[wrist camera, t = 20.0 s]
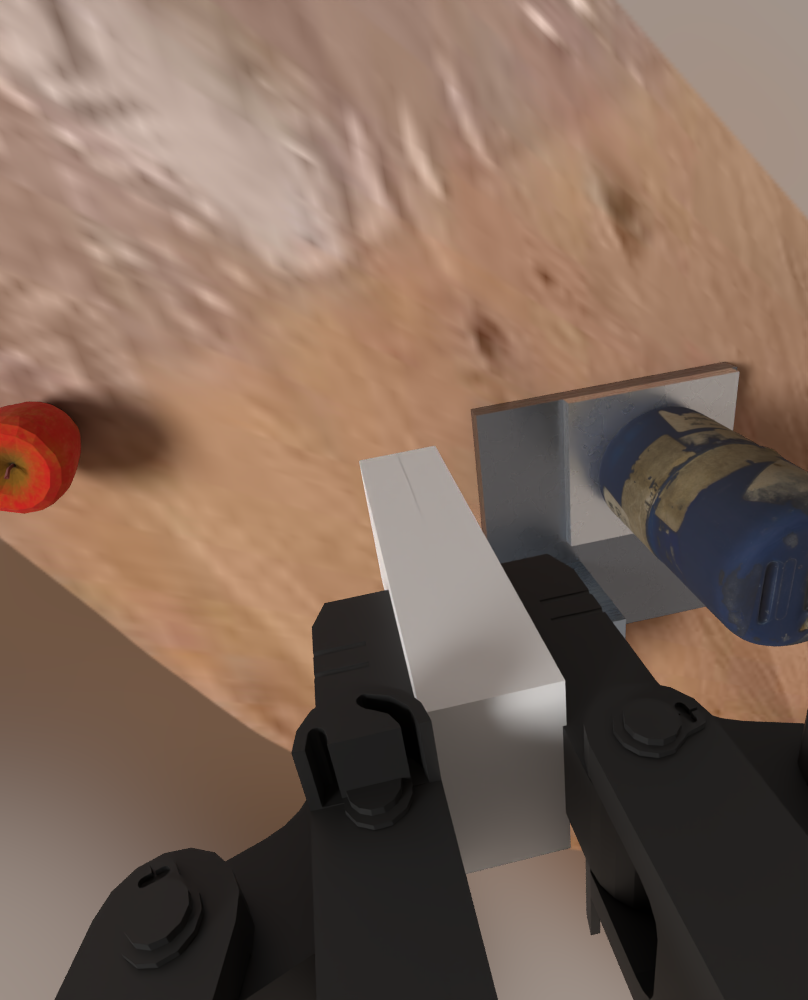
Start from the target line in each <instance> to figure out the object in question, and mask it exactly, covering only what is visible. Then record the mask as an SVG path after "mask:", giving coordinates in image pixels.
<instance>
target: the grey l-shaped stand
mask: <svg viewBox="0 0 808 1000" xmlns="http://www.w3.org/2000/svg"><path fill="white" fill-rule="evenodd" d="M739 372H740V371H737V366H734V365H731V364H729V363H726V362H722V363H717V364H711V365H706V366H701V367H695V368H690V369H684V370H679V371H674V372H668V373H663V374H658V375H652V376H647V377H642V378H636V379H631V380H626V381H620V382H615V383H609V384H604V385H599V386H593V387H588V388H583V389H577V390H572V391H567V392H561V393H556V394H551V395H545V396H540V397H534V398H529V399H524V400H518V401H513V402H508V403H502V404H497V405H492V406H486V407H481V408H476V409H471V415H472V426H473V437H474V447H475V458H476V469H477V480H478V491H479V502H480V512H481V523H482V531H483V533H484V535H485V537H486V539H487V540H488V542H489V544H490V546H491V548H492V549H493V551H494V553H495V555H496V557H497V558H498V560H499V562H500V564H501V563H505V562H510V561H515V560H520V559H524V558H529V557H534V556H538V555H543V554H549V555H551V556H552V557H554V558H556V559H557V560H559V561H561V562H563V563H564V564H566V565H568V566H570V567H571V568H573V569H574V570H575V572H576V573H577V574H578V576H579V577H580V579H581V580H582V581H583V583H584V584H585V585H586V587H587V588H588V589H589V593H590V594H592V595H593V596H594V597H595V599H596V600H597V602H598V603H599V604H600V606H601V607H602V611H603V612H606V614H607V615H608V616H609V618H610V619H611V621H612V622H613V623H614V625H615V626H616V627H617V629H618V630H619V631H620V633H621V634H622V635H623V637H624V638H625V632H626V624H628V623H632V622H637V621H641V620H646V619H650V618H655V617H660V616H664V615H669V614H673V613H678V612H682V611H687V610H691V609H696V608H701V607H705V605H704V604H703V603H702V602H701V601H700V600H699V599H698V598H697V597H696V596H695V595H694V594H693V593H692V592H691V591H690V590H689V589H688V588H687V587H686V586H685V585H684V584H683V582H682V581H681V580H680V579H679V578H678V577H677V576H676V575H675V574H674V573H672V572H671V570H670V569H669V568H668V567H667V566H666V565H665V564H664V563H663V562H661V561H660V560H659V559H658V558H657V557H656V556H655V555H654V554H653V553H652V552H651V551H650V550H649V549H648V548H647V547H646V546H645V545H644V544H643V543H642V542H641V541H640V539H639V538H637V537H636V536H635V535H634V533H633V532H632V531H631V530H630V529H629V528H628V527H627V526H626V525H625V524H624V523H623V522H622V521H621V520H620V519H619V518H618V517H617V516H616V515H615V514H614V513H613V512H612V511H611V509H610V508H609V507H608V505H607V504H606V502H605V501H604V499H603V496H602V494H601V490H600V485H599V468H600V463H601V460H602V458H603V455H604V452H605V450H606V448H607V446H608V444H609V443H610V441H611V440H612V439H613V437H614V436H615V435H616V434H617V432H618V431H619V430H620V429H621V428H622V427H623V426H625V425H626V424H627V423H628V422H629V421H631V420H632V419H634V418H635V417H637V416H639V415H641V414H643V413H645V412H647V411H650V410H653V409H656V408H661V407H668V406H678V407H685V408H689V409H692V410H695V411H698V412H700V413H701V414H703V415H705V416H707V417H709V418H711V419H713V420H715V421H717V422H718V423H720V424H722V425H723V426H725V427H727V428H729V429H731V430H733V426H734V417H735V408H736V399H737V390H738V381H739Z"/></svg>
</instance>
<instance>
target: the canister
mask: <svg viewBox="0 0 808 1000" xmlns="http://www.w3.org/2000/svg"><path fill="white" fill-rule="evenodd" d="M599 485H600V490H601V494H602V496H603V499H604V501H605V502H606V504H607V505H608V507H609V508H610V509H611V511H612V512H613V513H614V514H615V515H616V516H617V517H618V518H619V519H620V520H621V521H622V522H623V523H624V524H625V525H626V526H627V527H628V528H629V529H630V530H631V531H632V532H633V533H634V535H635V536H636V537H637V538H639V539H640V541H641V542H642V543H643V544H644V545H645V546H646V547H647V548H648V549H649V550H650V551H651V552H652V553H653V554H654V555H655V556H656V557H657V558H658V559H659V560H660V561H661V562H663V563H664V564H665V565H666V566H667V567H668V568H669V569H670V570H671V572H672V573H674V574H675V575H676V576H677V577H678V578H679V579H680V580H681V581H682V582H683V584H684V585H685V586H686V587H687V588H688V589H689V590H690V591H691V592H692V593H693V594H694V595H695V596H696V597H697V598H698V599H699V600H700V601H701V602H702V603H703V604H704V605H705V606H706V607H707V608H708V609H709V610H710V611H711V612H712V613H713V614H714V615H715V616H716V617H717V618H718V619H719V620H720V621H721V622H722V623H723V624H724V625H725V626H726V627H727V628H728V629H729V630H730V631H731V632H733V633H734V634H735V635H737V636H739V637H740V638H742V639H744V640H746V641H748V642H751V643H754V644H758V645H765V646H787V645H794V644H798V643H803V642H806V641H808V472H807V471H805V470H803V469H802V468H800V467H798V466H796V465H795V464H793V463H791V462H789V461H787V460H786V459H784V458H783V457H782V456H781V455H779V454H778V453H777V452H776V451H774V450H773V449H770V448H767V447H763V446H759V445H757V444H756V443H754V442H752V441H751V440H749V439H747V438H745V437H744V436H742V435H740V434H738V433H736V432H734V431H733V430H731V429H729V428H727V427H725V426H723V425H722V424H720V423H718V422H717V421H715V420H713V419H711V418H709V417H707V416H705V415H703V414H701V413H700V412H698V411H695V410H692V409H689V408H685V407H678V406H668V407H661V408H656V409H653V410H650V411H647V412H645V413H643V414H641V415H639V416H637V417H635V418H634V419H632V420H631V421H629V422H628V423H627V424H626V425H625V426H623V427H622V428H621V429H620V430H619V431H618V432H617V434H616V435H615V436H614V437H613V439H612V440H611V441H610V443H609V444H608V446H607V448H606V450H605V452H604V455H603V458H602V460H601V463H600V468H599Z"/></svg>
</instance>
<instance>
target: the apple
mask: <svg viewBox="0 0 808 1000" xmlns="http://www.w3.org/2000/svg"><path fill="white" fill-rule="evenodd" d="M80 454H81V439H80V433H79V429H78V427H77V425H76V424H75V423H74V421H73V420H72V419H71V418H70V417H69V416H68V415H67V414H66V413H65V412H64V411H62V410H60V409H58V408H57V407H55V406H53V405H51V404H47V403H42V402H24V403H19V404H14V405H8V406H4V407H1V408H0V511H8V512H16V513H24V514H25V513H30V512H35V511H40V510H43V509H45V508H47V507H49V506H50V505H52V504H54V503H55V502H56V501H57V500H58V499H59V498H60V497H61V496H62V495H63V494H64V493H65V492H66V491H67V490H68V488H69V487H70V485H71V483H72V481H73V478H74V475H75V473H76V470H77V466H78V462H79V458H80Z"/></svg>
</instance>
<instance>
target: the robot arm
mask: <svg viewBox="0 0 808 1000" xmlns="http://www.w3.org/2000/svg"><path fill="white" fill-rule="evenodd" d="M359 463H360V468H361V473H362V479H363V484H364V489H365V494H366V499H367V505H368V510H369V515H370V520H371V525H372V530H373V536H374V541H375V546H376V551H377V556H378V561H379V567H380V572H381V577H382V581H383V586H384V590H385V591H380V592H375V593H371V594H366V595H361V596H357V597H352V598H347V599H343V600H338V601H333V602H328V603H324V605H323V607H322V609H321V611H320V613H319V615H318V617H317V619H316V621H315V623H314V624H313V626H312V639H313V654H314V657H313V661H314V675H315V679H314V683H315V705H316V707H315V708H314V709H313V710H311V711H310V713H309V714H308V716H307V717H306V718H305V720H304V721H303V723H302V724H301V725H300V727H299V728H298V730H297V731H296V735H295V740H294V744H293V748H292V756H293V760H294V763H295V766H296V769H297V772H298V775H299V778H300V781H301V784H302V787H303V790H304V793H305V796H306V801H305V803H304V805H303V806H302V808H301V809H300V811H299V812H298V813H297V814H296V815H295V816H294V817H293V818H292V819H291V820H290V821H289V822H288V823H287V824H286V825H285V826H284V827H282V828H281V829H279V830H278V831H276V832H275V833H273V834H272V835H271V836H269V837H268V838H266V839H264V840H263V841H261V842H259V843H257V844H256V845H254V846H252V847H250V848H249V849H247V850H245V851H244V852H242V853H240V854H238V855H236V856H234V857H233V858H231V859H229V860H227V861H226V862H225V861H224V860H223V859H222V858H220V857H219V856H218V855H217V854H216V853H215V852H210V851H205V850H200V849H195V848H188V849H183V850H178V851H173V852H168V853H164V854H162V855H160V856H158V857H157V858H155V859H153V860H152V861H149V862H148V863H146V864H144V865H142V866H140V867H138V868H137V869H136V870H134V871H133V872H132V873H131V874H130V875H129V876H128V877H127V878H126V879H125V880H124V881H123V882H122V883H121V884H119V885H118V886H117V887H116V888H115V889H114V890H113V891H112V892H111V894H110V895H109V897H108V898H107V900H106V901H105V903H104V904H103V906H102V907H101V909H100V910H99V912H98V913H97V915H96V916H95V918H94V919H93V921H92V923H91V925H90V927H89V929H88V931H87V933H86V936H85V938H84V940H83V942H82V944H81V946H80V948H79V950H78V952H77V954H76V956H75V958H74V960H73V962H72V965H71V967H70V969H69V971H68V973H67V975H66V977H65V979H64V981H63V984H62V985H61V987H60V989H59V992H58V994H57V996H56V998H55V1000H498V998H497V994H496V991H495V987H494V983H493V979H492V975H491V971H490V967H489V963H488V960H487V955H486V952H485V947H484V944H483V940H482V936H481V932H480V928H479V924H478V920H477V916H476V913H475V909H474V905H473V901H472V897H471V893H470V889H469V885H468V881H467V877H466V874H468V873H472V872H476V871H481V870H484V869H488V868H492V867H496V866H500V865H504V864H508V863H512V862H516V861H520V860H524V859H528V858H532V857H536V856H540V855H544V854H548V853H552V852H556V851H560V850H564V849H568V848H571V845H570V823H571V826H572V828H573V830H574V832H575V835H576V837H577V839H578V841H579V844H580V846H581V848H582V851H583V853H584V855H585V857H586V906H587V907H586V911H587V919H588V923H589V928H590V933H591V935H594V934H598V933H600V921H601V923H602V926H603V928H604V930H605V933H606V935H607V937H608V940H609V942H610V945H611V947H612V949H613V952H614V954H615V957H616V959H617V961H618V964H619V966H620V969H621V971H622V973H623V976H624V978H625V981H626V983H627V985H628V988H629V990H630V992H631V995H632V997H633V999H634V1000H808V710H807V715H806V720H805V724H803V723H779V722H755V721H739V720H731V719H723V718H719V717H716V716H712V715H711V714H710V713H709V712H708V711H707V710H706V709H705V708H704V707H702V706H701V705H700V704H699V703H698V702H697V701H696V700H695V699H694V698H692V697H689V696H687V695H685V694H683V693H681V692H679V691H677V690H675V689H673V688H671V687H666V686H661V685H659V683H658V682H657V681H656V680H655V679H654V677H653V676H652V675H651V673H650V672H649V671H648V669H647V668H646V667H645V665H644V664H643V663H642V661H641V660H640V658H639V657H638V656H637V654H636V653H635V652H634V650H633V649H632V648H631V646H630V645H629V644H628V642H627V641H626V639H625V638H624V637H623V635H622V634H621V633H620V631H619V630H618V629H617V627H616V626H615V625H614V623H613V622H612V621H611V619H610V618H609V616H608V615H607V614H606V612H603V611H602V607H601V606H600V604H599V603H598V602H597V600H596V599H595V597H594V596H593V595H592V594H590V593H589V589H588V588H587V587H586V585H585V584H584V583H583V581H582V580H581V579H580V577H579V576H578V574H577V573H576V572H575V570H574V569H573V568H571V567H570V566H568V565H566V564H564V563H563V562H561V561H559V560H557V559H556V558H554V557H552V556H551V555H549V554H543V555H538V556H534V557H529V558H524V559H520V560H515V561H510V562H505V563H501V564H500V562H499V560H498V558H497V557H496V555H495V553H494V551H493V549H492V548H491V546H490V544H489V542H488V540H487V539H486V537H485V535H484V533H483V531H482V530H481V528H480V526H479V524H478V522H477V521H476V519H475V517H474V515H473V513H472V512H471V510H470V508H469V506H468V504H467V503H466V501H465V499H464V497H463V495H462V494H461V492H460V490H459V488H458V486H457V485H456V483H455V481H454V479H453V477H452V475H451V474H450V472H449V470H448V468H447V466H446V465H445V463H444V461H443V459H442V457H441V456H440V454H439V452H438V450H437V448H436V447H435V446H431V447H426V448H421V449H416V450H411V451H406V452H401V453H396V454H391V455H386V456H381V457H375V458H370V459H365V460H360V461H359Z"/></svg>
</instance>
